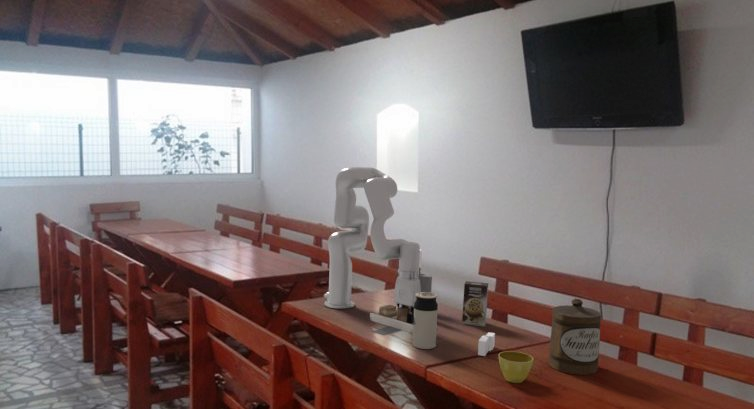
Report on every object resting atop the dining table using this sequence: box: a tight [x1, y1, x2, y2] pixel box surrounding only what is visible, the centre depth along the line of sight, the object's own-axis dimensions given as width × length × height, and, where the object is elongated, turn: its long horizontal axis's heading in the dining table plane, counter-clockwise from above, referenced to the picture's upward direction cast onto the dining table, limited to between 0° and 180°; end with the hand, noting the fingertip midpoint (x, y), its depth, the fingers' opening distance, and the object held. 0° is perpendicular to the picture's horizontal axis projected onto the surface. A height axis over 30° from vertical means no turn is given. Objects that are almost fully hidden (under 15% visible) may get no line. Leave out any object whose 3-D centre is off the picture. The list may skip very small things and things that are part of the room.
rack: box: [369, 309, 413, 334], centre depth 239 cm, size 22×12×3 cm, turn 46°
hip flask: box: [419, 267, 433, 293], centre depth 252 cm, size 16×4×20 cm, turn 36°
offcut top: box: [378, 304, 397, 315], centre depth 244 cm, size 4×6×2 cm, turn 136°
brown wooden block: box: [396, 306, 413, 325], centre depth 237 cm, size 3×8×7 cm, turn 136°
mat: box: [371, 326, 402, 336], centre depth 229 cm, size 6×10×1 cm, turn 136°
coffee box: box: [461, 280, 489, 327], centre depth 244 cm, size 9×6×16 cm
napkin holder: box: [477, 331, 496, 357], centre depth 211 cm, size 15×11×6 cm
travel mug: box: [412, 292, 439, 350], centre depth 212 cm, size 8×8×18 cm
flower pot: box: [498, 350, 534, 384], centre depth 184 cm, size 10×10×7 cm
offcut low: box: [377, 312, 397, 318], centre depth 244 cm, size 4×8×2 cm, turn 136°
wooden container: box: [548, 298, 602, 376], centre depth 197 cm, size 15×15×22 cm
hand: (406, 322), depth 237 cm, fingers closed on brown wooden block, 2 cm apart
